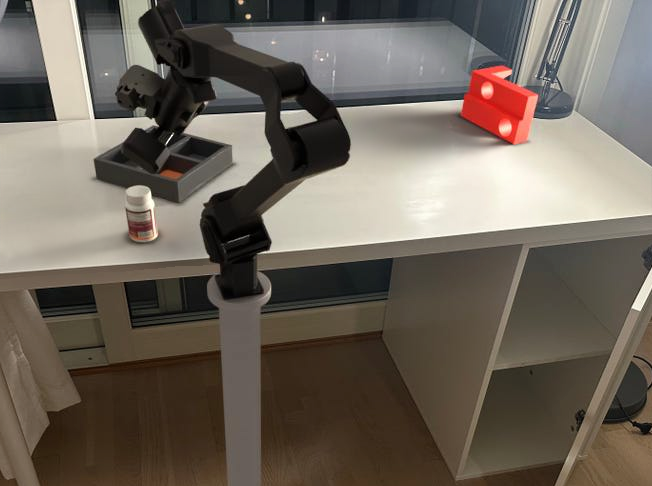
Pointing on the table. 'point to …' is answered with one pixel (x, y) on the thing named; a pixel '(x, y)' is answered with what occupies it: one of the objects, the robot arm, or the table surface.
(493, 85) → the bracket
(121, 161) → the organiser
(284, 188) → the robot arm
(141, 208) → the pill bottle
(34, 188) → the table surface
